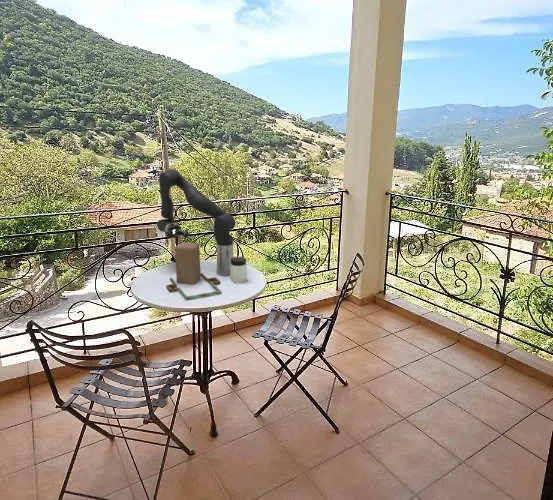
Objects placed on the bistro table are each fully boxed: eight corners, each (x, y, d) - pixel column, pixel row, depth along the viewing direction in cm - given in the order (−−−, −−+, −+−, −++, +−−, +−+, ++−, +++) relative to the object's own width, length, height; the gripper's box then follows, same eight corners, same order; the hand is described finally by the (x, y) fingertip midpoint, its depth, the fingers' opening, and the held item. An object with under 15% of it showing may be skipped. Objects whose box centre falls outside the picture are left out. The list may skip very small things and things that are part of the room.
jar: (248, 281, 208) (248, 260, 204) (234, 284, 204) (234, 262, 201) (242, 276, 215) (242, 255, 212) (228, 278, 212) (228, 257, 209)
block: (194, 285, 202) (192, 247, 197) (176, 283, 204) (173, 246, 199) (201, 278, 212) (199, 243, 206) (184, 277, 214) (182, 241, 208)
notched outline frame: (209, 274, 218) (209, 271, 218) (229, 292, 193) (229, 289, 193) (161, 281, 206) (161, 279, 205) (176, 302, 181) (176, 298, 180)
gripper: (160, 224, 220) (167, 231, 206) (185, 222, 227) (194, 228, 213) (161, 237, 222) (168, 244, 208) (185, 235, 229) (194, 241, 215)
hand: (181, 236), depth 210 cm, fingers open, 4 cm apart
